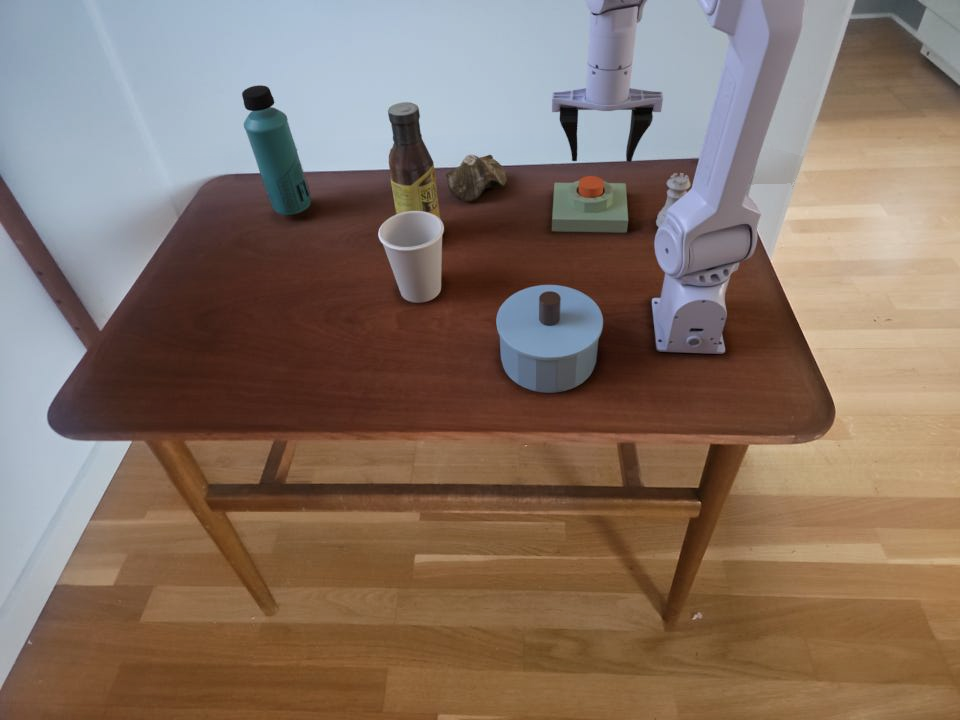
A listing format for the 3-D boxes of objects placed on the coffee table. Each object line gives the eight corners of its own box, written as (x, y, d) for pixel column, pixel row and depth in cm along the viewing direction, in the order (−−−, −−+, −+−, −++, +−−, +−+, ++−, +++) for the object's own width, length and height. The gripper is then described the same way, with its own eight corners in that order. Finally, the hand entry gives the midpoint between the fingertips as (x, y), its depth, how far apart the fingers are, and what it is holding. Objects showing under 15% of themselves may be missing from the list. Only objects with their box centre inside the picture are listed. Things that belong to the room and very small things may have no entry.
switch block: (626, 232, 95) (629, 209, 92) (551, 231, 96) (552, 208, 94) (624, 195, 102) (626, 172, 99) (554, 194, 103) (554, 172, 100)
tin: (596, 395, 74) (599, 360, 70) (497, 390, 76) (495, 355, 71) (595, 326, 82) (598, 291, 78) (505, 323, 83) (504, 288, 79)
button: (602, 199, 95) (603, 189, 94) (578, 199, 96) (578, 188, 94) (602, 186, 98) (603, 175, 96) (578, 185, 98) (579, 175, 97)
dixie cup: (379, 300, 88) (365, 240, 81) (408, 264, 93) (398, 205, 86) (433, 315, 85) (424, 254, 78) (460, 277, 90) (454, 217, 83)
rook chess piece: (678, 238, 94) (687, 189, 88) (650, 228, 96) (657, 180, 90) (691, 222, 96) (701, 174, 90) (663, 213, 98) (672, 166, 92)
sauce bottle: (436, 251, 95) (419, 122, 80) (395, 248, 96) (371, 120, 81) (446, 225, 99) (432, 99, 85) (407, 223, 100) (386, 97, 86)
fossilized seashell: (496, 156, 108) (441, 178, 107) (497, 135, 101) (437, 158, 101) (514, 194, 106) (458, 217, 106) (516, 176, 100) (456, 199, 99)
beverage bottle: (310, 223, 102) (273, 98, 87) (269, 224, 102) (225, 101, 88) (318, 200, 106) (284, 78, 92) (279, 201, 107) (238, 80, 92)
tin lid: (603, 366, 70) (606, 338, 67) (491, 361, 71) (489, 334, 68) (601, 293, 78) (604, 265, 75) (501, 290, 80) (500, 262, 77)
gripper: (665, 48, 85) (651, 144, 95) (554, 49, 87) (552, 143, 96) (669, 70, 80) (654, 169, 90) (552, 71, 82) (549, 168, 92)
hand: (601, 157), depth 93 cm, fingers open, 7 cm apart
